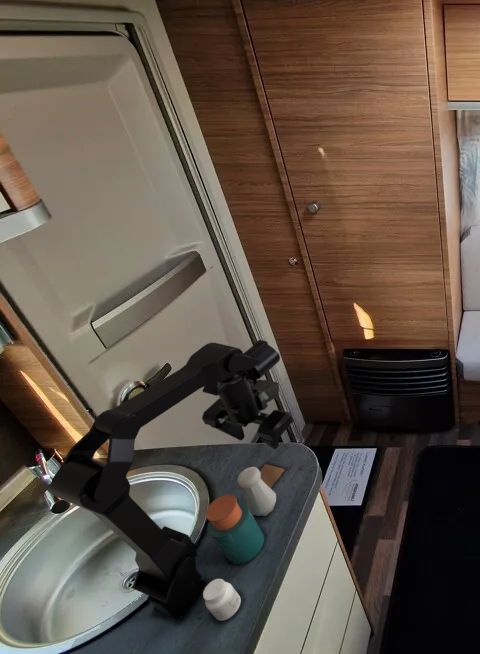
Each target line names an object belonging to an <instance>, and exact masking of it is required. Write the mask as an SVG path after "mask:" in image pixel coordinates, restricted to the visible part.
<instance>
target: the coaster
mask: <svg viewBox="0 0 480 654" xmlns="http://www.w3.org/2000/svg"><path fill="white" fill-rule="evenodd" d="M259 471H260V473H261V478H260V479H261V480H262V481H263V482H264V483H265V484H266V485H267V486H268V487H270V488H271V489H272V487H273V486H274V485H275V484H276V483H277V481H278V479H279V478H280V477H281V476H282V474H283V473H284V471H285V468H282V467H278V466H274V465H271V464H267V463H265V464H264V466H263V467H262V468H261V469H260V470H259Z"/></svg>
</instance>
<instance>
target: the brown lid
mask: <svg viewBox="0 0 480 654" xmlns="http://www.w3.org/2000/svg"><path fill="white" fill-rule="evenodd" d="M237 501H238V500H237V497H235V496H234V495H233V494H224V495H223V494H222V495H221V496H219V497H217V498H216V499H214V500H213V501H212V502H211V503H210V504H209V505H208V507H207V508H206V510H205V517H206V519H207V520H208V522H209V521H211V522H212V524H213V525H214V527H215V528H216V529H217V530H219V531H224V530H227V529H230V528H231V527H233V526H234V525H235V524H236V523H237V522H238V521H239V520H240V518H241V515H242V511H241V509H240V507H239V505H238V504H237Z"/></svg>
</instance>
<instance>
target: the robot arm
mask: <svg viewBox="0 0 480 654" xmlns="http://www.w3.org/2000/svg"><path fill="white" fill-rule="evenodd" d="M280 360H281V355H280V354H279V352H277V351H276V349H275V348H274V347H272V346H271V345H269V343H268V341H267V340H263V339H258V340H257V341H255V343H254V344H253V345H252V346H251V347H249V348H248V349H247V350H246V351H244V352H243V350H241V348H239V347H235V346H230V345H227V344H222V343H218V342H209V343H206V344H204V345H202V346H201V348H198V350H197V351H195V352H194V353H193V354H191V355H190V356H189V358H188V360H187V362H186V363H185V365H184V366H182V367H181V368H179V369H178V370H176V371H174V372H172V373H171V374H169V375H167V376H165V378H163V379H161V380H159V381H157V382H156V383H154V384H153V385H151V386H149V387H148V388H146V389H144V390H142V391H140V392H139V393H137V394H136V395H134V396H132V397H131V398H129V399H127V400H125V401H124V402H122V403H120V404H118V405H117V406H116V407H113V408H111V409H106V410H104V411H102V412H101V413H100V414H98V415H97V417H96V418H95V420H94V421H93V423H92V425H91V427H90V429H89V431H88V432H87V433H85V434H84V435H83V437H81V438H80V439H79V440H78V441H76V443H75V444H74V445H72V447H70V449H69V450H68V452H67V454H66V456H65V457H64V458H63V459H64V460H63V461H62V463H61V465H60V467H59V469H57V472H56V473H55V474H54V476H53V477H52V478H51V481H50V483H49V485H48V491H49V493H50V494H51V495H52V496H54V497H56V498H58V499H60V500H63V501H64V502H67V503H69V504H71V505H74V506H76V507H78V508H81V509H84V510H85V511H88V512H90V513H92V514H93V515H94V516H95V517H96V518H97V519H99V520H100V521H101V522H102V523H103V524H104V525H105V526H106V527H107V528H108V529H110V530H111V531H112V532H113V533H114V534H115V535H116V536H117V537H118V538H119V539H121V540H122V541H123V542H124V543H125V544H126V545H127V546H128V547H129V548H131V549H132V550H133V551H134V552H135V557H134V561H135V563H136V565H137V567H138V570H137V573H136V576H135V579H134V581H133V584H132V587H131V588H132V589H133V590H135V591H137V592H140V593H141V594H144V595H146V596H147V597H146V600H147V602H149V603H150V604H151V605H152V606H153V607H154V608H153V611H154V613H156V614H159V615H161V616H164V617H166V618H169V619H172V620H174V621H177V622H181V621H182V620H184V618H185V617H186V616H187V614H188V613H189V611H190V610H191V609H192V607H193V606H194V605H195V603H196V602H197V601H198V600H199V598H200V597H201V596H202V595H203V592H204V589H205V588H206V586H207V585H208V584H209V583H208V581H205V580H203V576H202V575H201V574H200V572H199V571H198V569H197V563H196V558H197V557H198V550H197V549H196V548H197V547H198V546H199V544H198V543H195V542H193V541H192V539H191V537H190V536H189V535H188V534H187V533H184V532H181V531H179V530H176V529H174V528H171V527H168V526H166V525H163V527H162V528H161V527H160V526H159V525H158V524H157V523H156V522H155V521H154V520H153V519H152V517H151V516H149V514H148V513H146V512H145V510H143V508H142V507H141V506H140V505H138V504H137V502H136V501H135V500H134V499H133V498H132V497H131V496H130V492H131V483H130V481H129V479H128V477H127V475H128V473H129V472H130V469H131V467H132V465H133V463H134V456H135V444H136V438H137V436H138V434H139V432H140V430H141V428H143V427H144V426H146V425H147V424H149V423H151V422H152V421H153V420H155V419H156V418H158V417H159V416H161V415H162V414H164V413H165V412H167V411H169V410H170V409H172V408H173V407H175V406H176V405H177V404H179V403H180V402H182V401H184V400H185V399H187V398H188V397H190V396H191V395H193V394H194V393H196V392H197V391H199V390H200V389H202V393H205V394H209V395H212V396H218V397H219V398H218V399H217V400H216V401H214V402H213V403H212V404H211V405H210V406H209V407H208V408H207V409H205V411H203V414H202V416H201V419H202V422H203V423H204V424H205V425H207V426H210V427H211V428H214V429H216V430H217V431H220V432H222V433H224V434H226V435H228V436H230V437H232V438H234V439H237V440H238V441H243V440H244V438H245V437H246V436H245V431H244V428H246V427H247V426H248V425H249V424H256V425H258V427H257V428H258V429H257V432H256V433H257V435H258V437H259V440H260V441H262V442H263V443H265V444H266V445H267V446H269V447H270V448H271V449H273V450H277V448H279V445H280V438H281V436H282V435H283V434H284V433H285V431H286V430H287V429H288V428H289V427H290V426H291V424H293V422H294V418H293V415H292V413H291V412H290V411H285V410H280V409H272V411H271V412H270V413H265V412H262V411H265V410H266V409H267V408H268V407H269V406H268V405H269V404H268V403H269V402H271V401H272V400H274V399H278V398H279V397H280V384H279V382H278V381H272V380H268V379H261V378H262V377H263V376H265V375H266V374H267V373H268V372H269V371H270V370H271V369H272V368H274V366H275V365H277V364H278V363H279V362H280ZM107 441H108V449H107V459H106V462H103V461H100V460H97V459H94V456H95V455H96V452H97V451H98V450H99V449H100V448H101V447H102V446H103V445H104V444H105V443H106V442H107Z"/></svg>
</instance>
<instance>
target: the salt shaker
mask: <svg viewBox="0 0 480 654" xmlns="http://www.w3.org/2000/svg"><path fill="white" fill-rule="evenodd" d="M260 478H261V473H260V470H259V468H257V467H255V466H251V467H247V468H245V469H243V470H242V471H241V472H240V473H239V475H238V476H237V479H236V480H237V484H238V486H239V487H240V488H241V489H244V494H245V501H246V504H247V506H248V508H249V510H250V512H251V514H252V515H253V516H256V517H266V516H267V515H269V514H270V513H272V511H274V508H275V504H276V502H277V494H276V492H275V491H274V490H273V489H272V487H271V488H270V487H268V486H267V485H266V484H265V483H264V482H263V481H262V480H261V479H260Z"/></svg>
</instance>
